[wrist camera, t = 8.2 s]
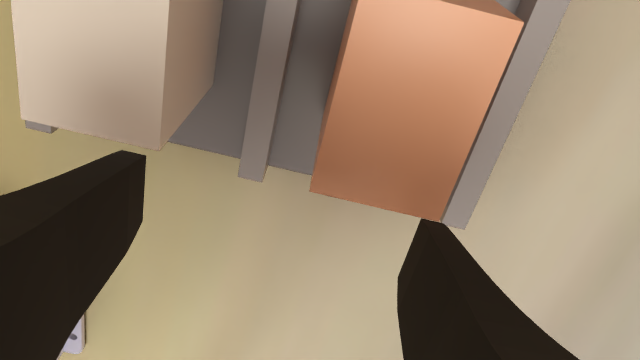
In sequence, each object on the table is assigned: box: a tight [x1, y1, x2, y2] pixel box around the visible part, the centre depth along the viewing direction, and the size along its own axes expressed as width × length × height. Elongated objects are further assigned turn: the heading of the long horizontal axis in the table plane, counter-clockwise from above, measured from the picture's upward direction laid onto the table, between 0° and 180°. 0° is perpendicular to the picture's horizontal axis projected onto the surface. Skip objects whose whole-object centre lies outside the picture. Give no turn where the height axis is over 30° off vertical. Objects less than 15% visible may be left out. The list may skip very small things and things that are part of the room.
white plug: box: [11, 0, 223, 151], centre depth 15 cm, size 6×4×6 cm, turn 167°
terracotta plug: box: [309, 0, 524, 222], centre depth 16 cm, size 6×4×6 cm, turn 167°
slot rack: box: [25, 0, 571, 230], centre depth 18 cm, size 12×18×2 cm, turn 77°
